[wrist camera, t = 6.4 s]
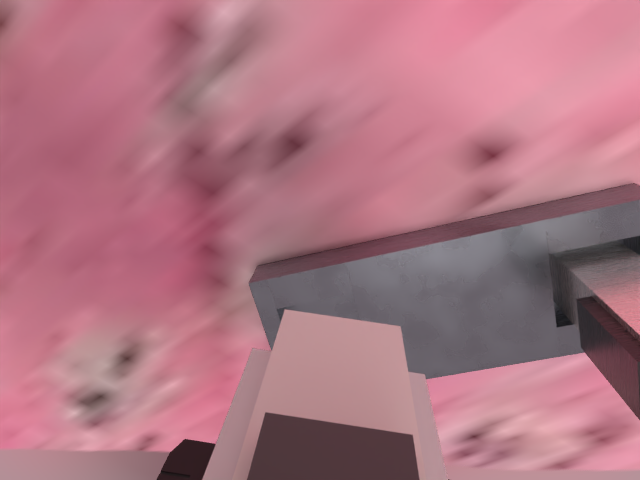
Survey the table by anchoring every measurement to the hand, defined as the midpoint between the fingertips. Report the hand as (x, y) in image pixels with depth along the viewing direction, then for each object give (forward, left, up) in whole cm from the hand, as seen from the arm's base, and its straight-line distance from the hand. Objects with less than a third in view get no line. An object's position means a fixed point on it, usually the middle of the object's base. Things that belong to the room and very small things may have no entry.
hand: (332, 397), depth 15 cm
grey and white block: (+7, +6, -19) cm, 21 cm away
